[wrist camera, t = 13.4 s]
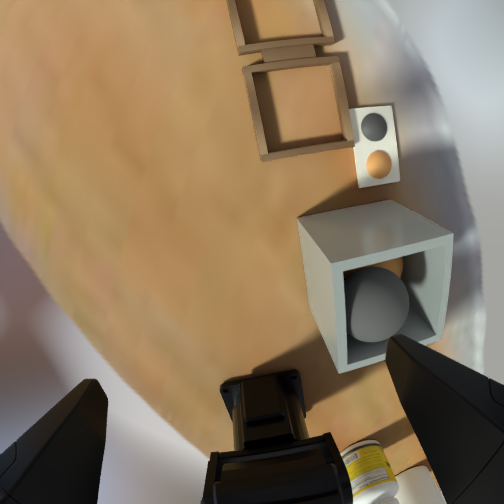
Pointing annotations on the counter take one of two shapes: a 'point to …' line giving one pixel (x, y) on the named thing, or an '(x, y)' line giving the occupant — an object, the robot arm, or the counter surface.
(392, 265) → the orange ball
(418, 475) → the pill bottle
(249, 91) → the holder
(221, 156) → the counter surface
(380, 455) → the supplement bottle
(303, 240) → the grey open box
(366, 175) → the card
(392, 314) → the gray ball
